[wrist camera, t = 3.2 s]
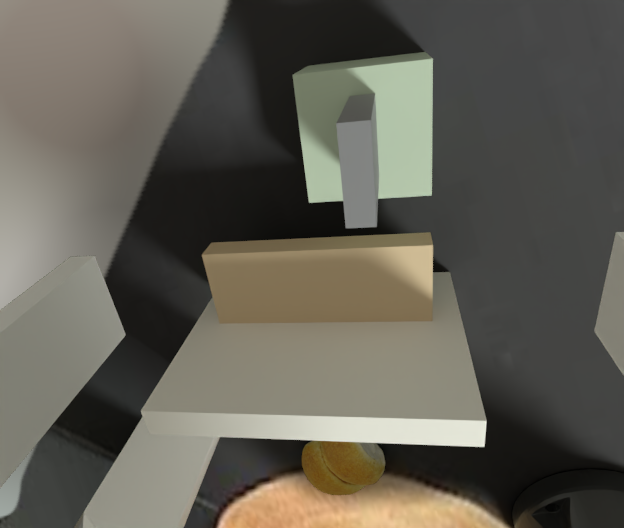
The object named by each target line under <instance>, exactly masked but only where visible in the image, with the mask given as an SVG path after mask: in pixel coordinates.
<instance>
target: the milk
mask: <svg viewBox="0 0 624 528" xmlns="http://www.w3.org/2000/svg"><path fill="white" fill-rule="evenodd" d="M219 438H220V437H209V436H183V435H157V434H150V433H149V431H148V428H147V426H146V423H145V421H144V418H143V417H142V418H141V420H140V422H139V423H138V425H137V426H136V428H135V430H134V431H133V433H132V435H131V436H130V438H129V439H128V441H127V443H126V444H125V446H124V448H123V449H122V451H121V452H120V454H119V456H118V457H117V459H116V461H115V462H114V464H113V465H112V467H111V469H110V470H109V472H108V473H107V475H106V477H105V478H104V480H103V482H102V483H101V485H100V486H99V488H98V490H97V491H96V493H95V495H94V496H93V498H92V499H91V501H90V503H89V504H88V506H87V508H86V509H85V511H84V515H83V528H183V527H184V525H185V522H186V520H187V517H188V515H189V512H190V510H191V507H192V505H193V503H194V500H195V498H196V495H197V493H198V490H199V488H200V485H201V483H202V480H203V478H204V475H205V473H206V470H207V468H208V465H209V463H210V460H211V458H212V455H213V453H214V450H215V448H216V445H217V443H218V440H219Z"/></svg>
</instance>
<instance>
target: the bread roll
mask: <svg viewBox="0 0 624 528" xmlns="http://www.w3.org/2000/svg"><path fill="white" fill-rule="evenodd" d="M302 467H303V470H304V473H305V475H306V477H307V478H308V480H309V481H310V482H311V483H312V485H313V486H314V487H316V488H317V489H318V490H320V491H322V492H324V493H327V494H331V495H347V494H353V493H355V492H357V491H359V490H361V489H362V488H363V487H365V486H366V485H371V484H374V483H376V482H377V481H378V480H379V478H380V477H381V476H382V474H383V472H384V470H385V458H384V454H383V451H382V449H381V448H380V447H379V446H378V445H377V444H376V443H365V442H339V441H313V440H312V441H310V442H309V443H307V444H306V445H305V446H304V448H303V451H302Z"/></svg>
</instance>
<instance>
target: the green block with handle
mask: <svg viewBox="0 0 624 528" xmlns="http://www.w3.org/2000/svg"><path fill="white" fill-rule="evenodd" d="M293 83H294V91H295V99H296V106H297V114H298V122H299V130H300V138H301V145H302V153H303V161H304V169H305V176H306V184H307V192H308V200H309V203H316V202H332V201H343V204H344V215H345V226H346V228H366V227H377V213H378V199H381V198H397V197H414V196H430V195H432V89H433V58H431V57H430V56H429V55H428V54H427V53H426V52H420V53H411V54H403V55H395V56H386V57H378V58H369V59H361V60H353V61H344V62H336V63H327V64H319V65H310V66H307V67H305V68H303V69H302V70H300V71H298V72H297V73H295V74H293Z"/></svg>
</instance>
